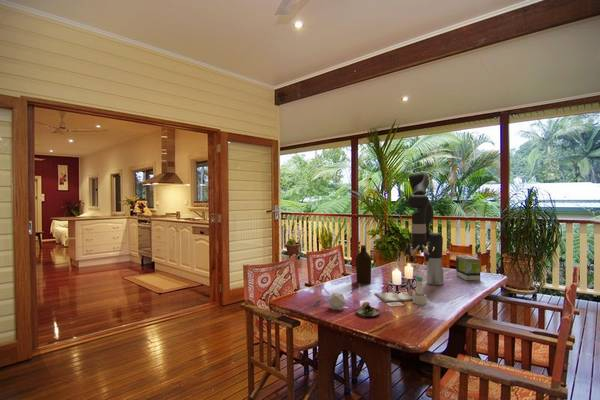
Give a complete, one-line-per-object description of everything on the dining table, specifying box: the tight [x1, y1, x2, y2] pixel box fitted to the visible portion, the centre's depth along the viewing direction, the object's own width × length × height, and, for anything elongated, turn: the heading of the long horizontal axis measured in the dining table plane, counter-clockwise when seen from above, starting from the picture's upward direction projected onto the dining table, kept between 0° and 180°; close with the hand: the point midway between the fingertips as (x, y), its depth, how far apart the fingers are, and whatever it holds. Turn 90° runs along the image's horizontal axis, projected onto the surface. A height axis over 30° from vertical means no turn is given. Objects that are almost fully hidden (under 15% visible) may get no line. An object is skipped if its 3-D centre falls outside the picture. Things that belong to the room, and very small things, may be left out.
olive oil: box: [355, 244, 372, 285], centre depth 219 cm, size 11×11×25 cm
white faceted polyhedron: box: [328, 292, 347, 311], centre depth 169 cm, size 8×9×10 cm
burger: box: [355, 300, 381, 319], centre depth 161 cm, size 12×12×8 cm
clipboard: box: [374, 291, 413, 304], centre depth 186 cm, size 20×16×1 cm
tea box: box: [455, 254, 481, 281], centre depth 226 cm, size 15×10×15 cm, turn 179°
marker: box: [415, 275, 423, 296], centre depth 176 cm, size 3×3×14 cm
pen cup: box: [412, 292, 427, 306], centre depth 176 cm, size 6×6×4 cm
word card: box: [385, 302, 405, 307], centre depth 174 cm, size 5×8×1 cm, turn 99°
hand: (419, 261), depth 176 cm, fingers open, 8 cm apart
